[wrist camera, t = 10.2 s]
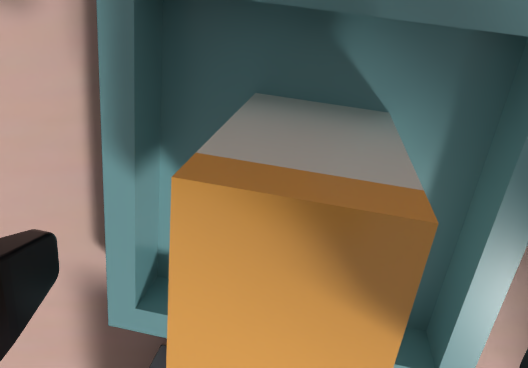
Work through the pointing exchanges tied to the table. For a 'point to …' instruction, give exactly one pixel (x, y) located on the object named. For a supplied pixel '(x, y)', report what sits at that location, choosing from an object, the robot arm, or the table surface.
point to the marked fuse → (295, 240)
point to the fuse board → (160, 358)
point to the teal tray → (331, 92)
